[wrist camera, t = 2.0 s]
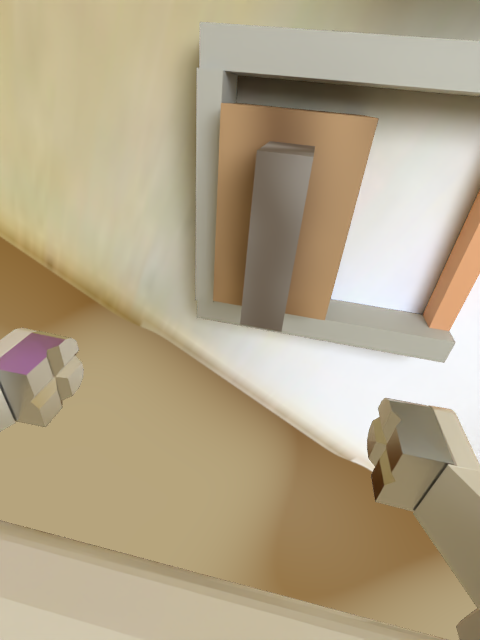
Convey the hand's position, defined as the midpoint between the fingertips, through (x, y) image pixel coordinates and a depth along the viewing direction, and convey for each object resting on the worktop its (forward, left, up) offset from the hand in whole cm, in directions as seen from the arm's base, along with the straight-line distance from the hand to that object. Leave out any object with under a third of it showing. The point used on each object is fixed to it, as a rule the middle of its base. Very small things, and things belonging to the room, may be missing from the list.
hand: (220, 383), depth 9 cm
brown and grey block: (0, 0, -20) cm, 20 cm away
